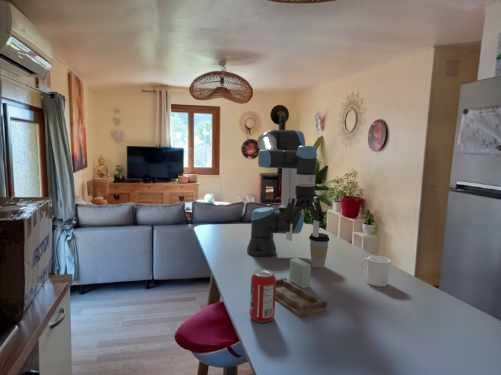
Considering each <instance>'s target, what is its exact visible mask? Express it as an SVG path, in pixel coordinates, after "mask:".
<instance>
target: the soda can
mask: <svg viewBox="0 0 501 375" xmlns="http://www.w3.org/2000/svg"><path fill="white" fill-rule="evenodd" d="M276 279H277V277H276V276H275V272H274V271H272V270H271V269H263V268H261V269H256V270H253V273H252V275H251V276H250V296H249V297H250V299H249V316H250V318H251V319H252V320H254V321H256V322H258V323H268V322H270V321H272V320H273V319H274V318H275V314H276V313H275V311H276V300H275V292H276Z"/></svg>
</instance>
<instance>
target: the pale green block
mask: <svg viewBox="0 0 501 375" xmlns="http://www.w3.org/2000/svg"><path fill="white" fill-rule="evenodd" d="M289 259H290V260H289V274H288V275H289V276H288V279H289V280H288V281H289V282H290V283H292V284H293V283H294V285H296V286H297V287H299V288H301V289H305V288H310V287H311V273H312V272H311V271H312V270H311V269H312V265H311V263H308V262H307V261H304V260H303V259H300V258H297V257H296V258H289Z"/></svg>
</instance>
